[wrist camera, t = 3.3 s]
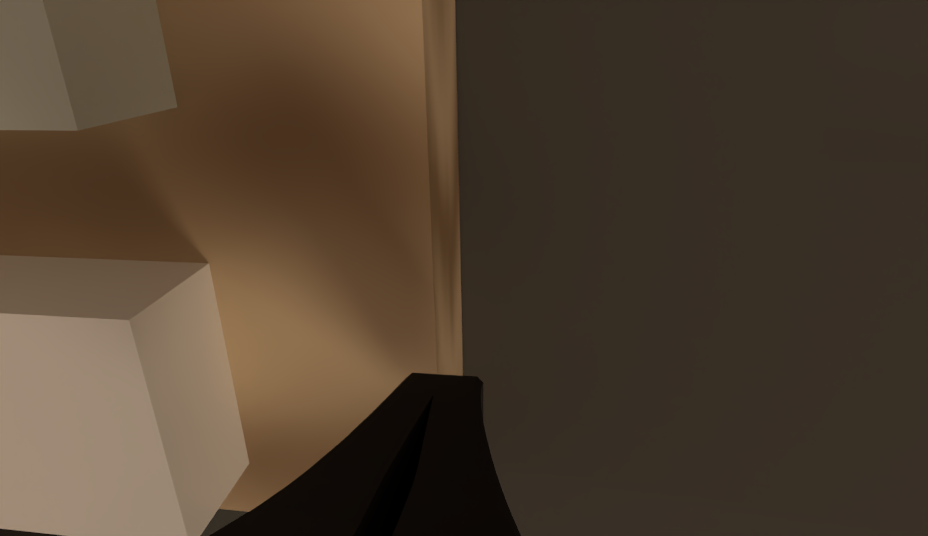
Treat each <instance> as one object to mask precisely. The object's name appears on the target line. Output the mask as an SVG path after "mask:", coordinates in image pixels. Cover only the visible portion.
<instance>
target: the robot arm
mask: <svg viewBox="0 0 928 536" xmlns="http://www.w3.org/2000/svg"><path fill="white" fill-rule="evenodd" d="M210 536H521V535H520V533H519V531H518V528H517V526H516V524H515V522H514V519H513V517H512V515H511V512H510V510H509V507H508V505H507V502H506V500H505V497H504V494H503V491H502V489H501V486H500V483H499V480H498V477H497V474H496V471H495V468H494V464H493V461H492V458H491V454H490V450H489V446H488V442H487V438H486V434H485V429H484V424H483V382H482V381H481V380H480V379H479V378H478V377H474V376H458V375H442V374H427V373H411V374H410V375H409V376H408V377H406V378H405V379H404V380H403V381H402V382H401V383H400V384H399V385H398V387H397V388H396V389H395V390H394V391H393V392H392V393H391V394H390V395H389V396H388V397H387V398H386V399H385V400H384V401H383V402H382V403H381V404H380V405H379V406H378V407H377V408H376V409H375V410H374V411H373V412H372V413H371V414H370V415H369V416H368V417H367V418H366V419H364V420H363V421H362V422H361V423H360V424H359V425H358V426H357V427H356V428H355V429H354V430H353V431H352V432H351V433H350V434H349V435H348V436H346V437H345V438H344V439H343V440H342V441H341V442H340V443H339V444H338V445H336V446H335V447H334V448H333V449H332V450H330V451H329V452H328V453H327V454H326V455H325V456H323V457H322V458H321V459H320V460H319V461H317V462H316V463H315V464H314V465H313V466H312V467H310V468H309V469H308V470H307V471H305V472H304V473H303V474H302V475H300V476H299V477H298V478H297V479H295V480H294V481H293V482H291V483H290V484H289V485H287V486H286V487H284V488H283V489H282V490H280V491H279V492H277V493H276V494H274V495H273V496H272V497H270V498H269V499H267V500H266V501H264V502H263V503H262V504H260V505H259V506H257V507H256V508H254V509H252V510H251V511H249V512H248V513H246V514H244V515H243V516H241V517H239V518H238V519H236V520H235V521H233V522H231V523H230V524H228V525H226V526H225V527H223V528H221V529H220V530H218V531H216V532H215V533H213V534H211V535H210Z"/></svg>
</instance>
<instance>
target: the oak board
mask: <svg viewBox="0 0 928 536" xmlns="http://www.w3.org/2000/svg"><path fill="white" fill-rule="evenodd" d="M156 3H157V8H158V13H159V18H160V23H161V28H162V33H163V38H164V43H165V48H166V53H167V58H168V63H169V68H170V73H171V78H172V82H173V87H174V92H175V97H176V102H177V107H176V108H172V109H168V110H164V111H159V112H155V113H151V114H147V115H142V116H138V117H134V118H130V119H125V120H121V121H117V122H113V123H108V124H104V125H100V126H96V127H91V128H87V129H83V130H79V131H56V130H0V255H10V256H35V257H61V258H87V259H112V260H138V261H164V262H189V263H209V266H210V271H211V276H212V281H213V286H214V291H215V296H216V301H217V306H218V311H219V316H220V320H221V325H222V330H223V335H224V340H225V345H226V350H227V355H228V360H229V365H230V370H231V375H232V380H233V385H234V390H235V395H236V400H237V405H238V410H239V415H240V420H241V425H242V430H243V434H244V439H245V444H246V449H247V454H248V459H249V465H248V466H247V468H246V469H245V471H244V472H243V473H242V475H241V476H240V478H239V479H238V481H237V482H236V484H235V485H234V487H233V488H232V490H231V491H230V493H229V494H228V496H227V497H226V498H225V500H224V501H223V503H222V504H221V506H220V507H219V509H227V510H237V511H247V512H249V511H251V510H252V509H254V508H256V507H257V506H259V505H260V504H262V503H263V502H264V501H266V500H267V499H269V498H270V497H272V496H273V495H274V494H276V493H277V492H279V491H280V490H282V489H283V488H284V487H286V486H287V485H289V484H290V483H291V482H293V481H294V480H295V479H297V478H298V477H299V476H300V475H302V474H303V473H304V472H305V471H307V470H308V469H309V468H310V467H312V466H313V465H314V464H315V463H316V462H317V461H319V460H320V459H321V458H322V457H323V456H325V455H326V454H327V453H328V452H329V451H330V450H332V449H333V448H334V447H335V446H336V445H338V444H339V443H340V442H341V441H342V440H343V439H344V438H345V437H346V436H348V435H349V434H350V433H351V432H352V431H353V430H354V429H355V428H356V427H357V426H358V425H359V424H360V423H361V422H362V421H363V420H364V419H366V418H367V417H368V416H369V415H370V414H371V413H372V412H373V411H374V410H375V409H376V408H377V407H378V406H379V405H380V404H381V403H382V402H383V401H384V400H385V399H386V398H387V397H388V396H389V395H390V394H391V393H392V392H393V391H394V390H395V389H396V388H397V387H398V385H399V384H400V383H401V382H402V381H403V380H404V379H405V378H406V377H408V376H409V375H410V374H411V373H427V374H442V375H458V376H463V358H462V310H461V262H460V213H459V165H458V117H457V69H456V21H455V0H156Z"/></svg>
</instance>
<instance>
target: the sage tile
mask: <svg viewBox="0 0 928 536" xmlns="http://www.w3.org/2000/svg"><path fill="white" fill-rule="evenodd" d="M176 107H177V102H176V97H175V92H174V87H173V82H172V78H171V73H170V68H169V63H168V58H167V53H166V48H165V43H164V38H163V33H162V28H161V23H160V18H159V13H158V8H157V3H156V0H0V130H56V131H79V130H83V129H87V128H91V127H96V126H100V125H104V124H108V123H113V122H117V121H121V120H125V119H130V118H134V117H138V116H142V115H147V114H151V113H155V112H159V111H164V110H168V109H172V108H176Z"/></svg>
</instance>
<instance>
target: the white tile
mask: <svg viewBox="0 0 928 536" xmlns="http://www.w3.org/2000/svg"><path fill="white" fill-rule="evenodd" d="M248 465H249V459H248V454H247V449H246V444H245V439H244V434H243V430H242V425H241V420H240V415H239V410H238V405H237V400H236V395H235V390H234V385H233V380H232V375H231V370H230V365H229V360H228V355H227V350H226V345H225V340H224V335H223V330H222V325H221V320H220V316H219V311H218V306H217V301H216V296H215V291H214V286H213V281H212V276H211V271H210V266H209V263H189V262H164V261H138V260H112V259H87V258H61V257H35V256H10V255H0V529H9V530H18V531H27V532H36V533H46V534H55V535H64V536H200V535H201V534H202V532H203V531H204V529H205V528H206V526H207V525H208V523H209V522H210V521H211V519H212V518H213V516H214V515H215V513H216V512H217V510H218V509H219V507H220V506H221V504H222V503H223V501H224V500H225V498H226V497H227V496H228V494H229V493H230V491H231V490H232V488H233V487H234V485H235V484H236V482H237V481H238V479H239V478H240V476H241V475H242V473H243V472H244V471H245V469H246V468H247V466H248Z"/></svg>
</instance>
